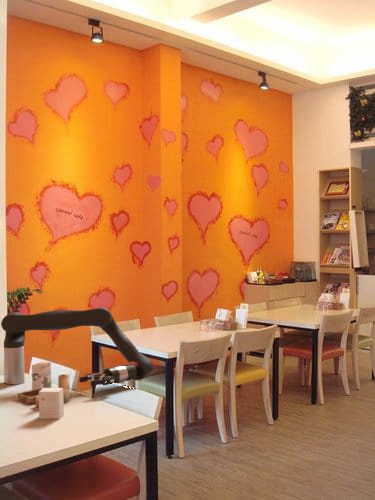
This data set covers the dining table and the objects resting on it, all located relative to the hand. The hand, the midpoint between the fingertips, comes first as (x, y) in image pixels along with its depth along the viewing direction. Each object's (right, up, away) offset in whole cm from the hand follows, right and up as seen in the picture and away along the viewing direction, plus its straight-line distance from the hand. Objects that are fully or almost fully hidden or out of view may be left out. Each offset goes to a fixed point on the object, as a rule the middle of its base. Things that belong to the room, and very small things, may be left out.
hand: (85, 381), depth 243 cm
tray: (-20, -6, -4) cm, 21 cm away
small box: (-8, -7, -29) cm, 30 cm away
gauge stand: (-13, -7, -14) cm, 21 cm away
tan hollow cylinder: (-8, -6, -7) cm, 12 cm away
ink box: (-22, -6, +13) cm, 27 cm away
